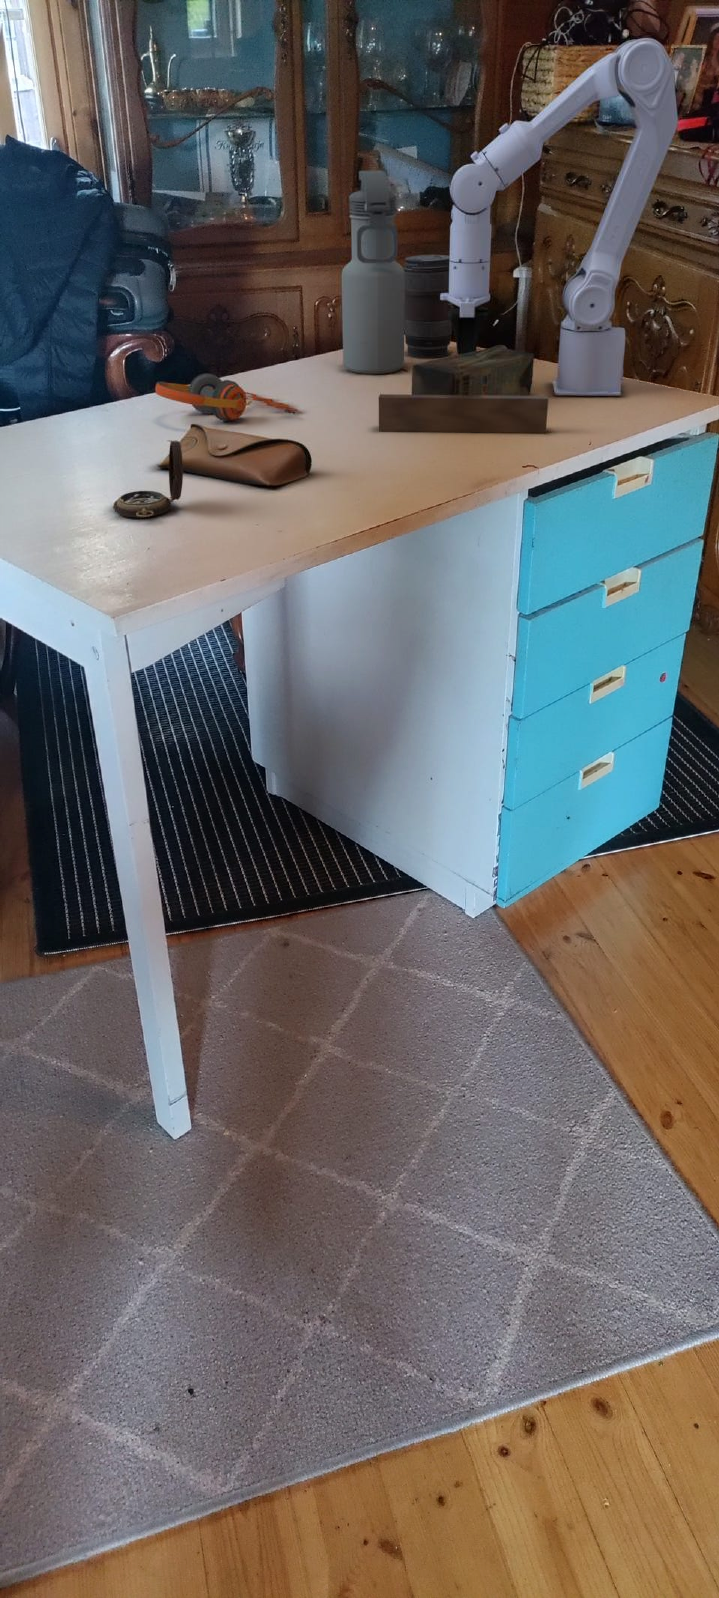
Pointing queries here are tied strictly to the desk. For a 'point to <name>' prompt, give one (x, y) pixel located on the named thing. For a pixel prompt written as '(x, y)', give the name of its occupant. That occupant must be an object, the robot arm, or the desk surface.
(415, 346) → the camera lens
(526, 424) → the backstop rail
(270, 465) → the sunglasses case
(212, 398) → the headphones
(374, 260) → the water bottle
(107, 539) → the desk surface
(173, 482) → the compass
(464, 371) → the beverage carton
